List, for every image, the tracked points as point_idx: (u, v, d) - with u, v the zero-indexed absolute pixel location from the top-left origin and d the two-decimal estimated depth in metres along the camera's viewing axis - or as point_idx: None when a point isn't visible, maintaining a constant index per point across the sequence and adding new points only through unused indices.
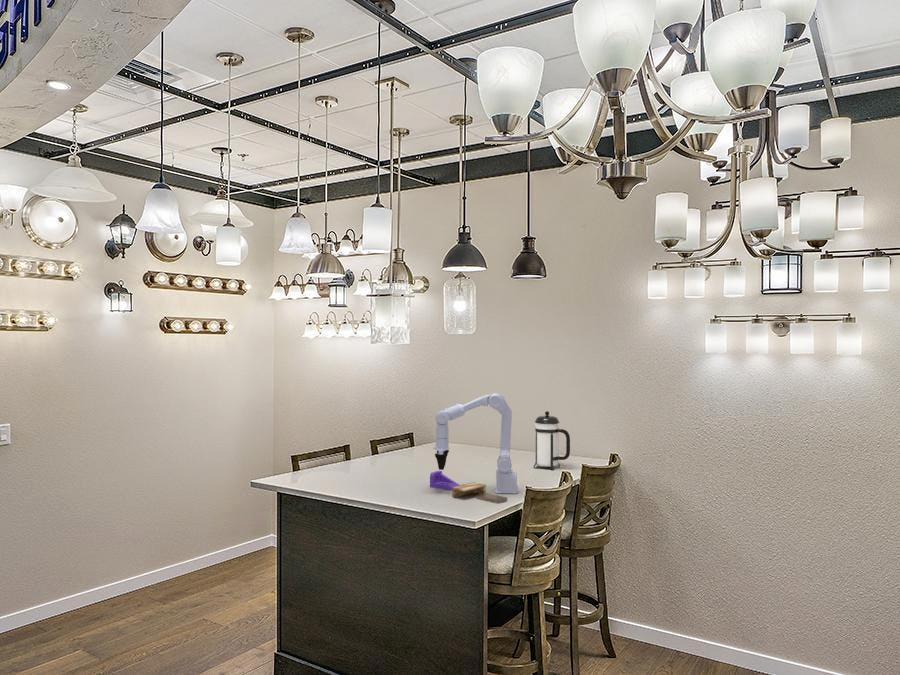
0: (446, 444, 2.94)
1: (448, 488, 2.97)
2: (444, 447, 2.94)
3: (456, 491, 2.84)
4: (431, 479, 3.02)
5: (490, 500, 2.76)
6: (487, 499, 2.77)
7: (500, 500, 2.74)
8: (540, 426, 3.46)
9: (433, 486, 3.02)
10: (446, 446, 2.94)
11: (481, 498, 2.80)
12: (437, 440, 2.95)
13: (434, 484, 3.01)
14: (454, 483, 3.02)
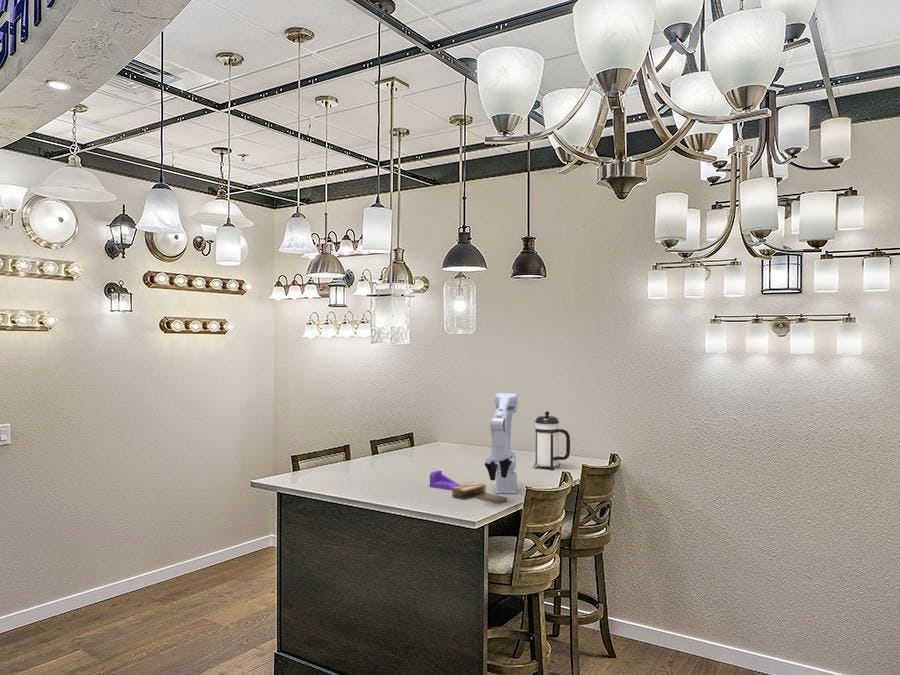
0: (499, 453, 2.74)
1: (448, 488, 2.98)
2: (497, 456, 2.74)
3: (456, 491, 2.84)
4: (431, 479, 3.03)
5: (490, 500, 2.76)
6: (487, 499, 2.77)
7: (500, 500, 2.74)
8: (540, 426, 3.46)
9: (433, 486, 3.02)
10: (499, 456, 2.74)
11: (481, 498, 2.80)
12: None
13: (434, 484, 3.02)
14: (454, 483, 3.02)
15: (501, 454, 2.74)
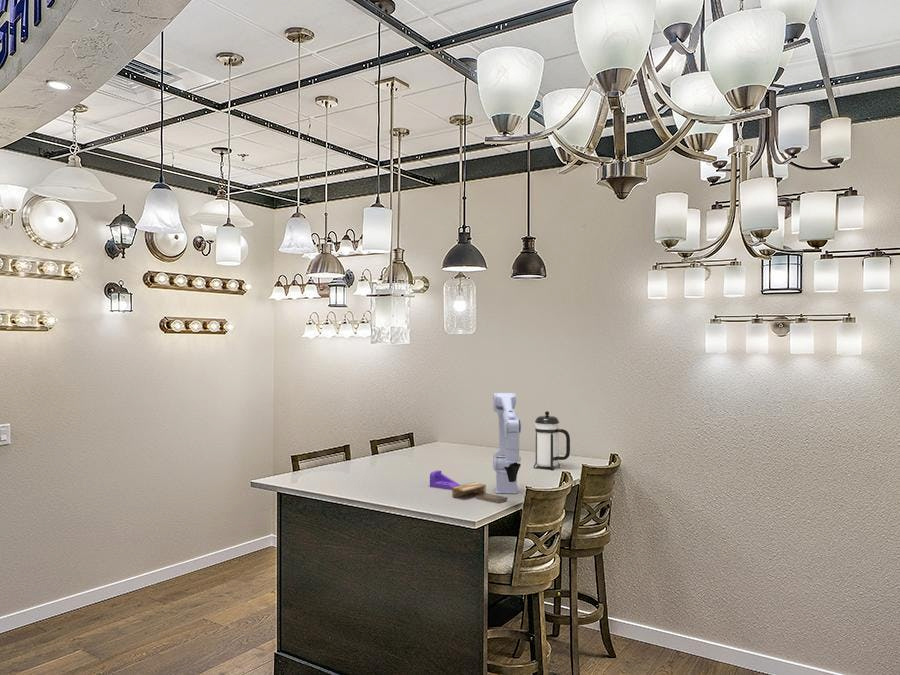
0: (515, 456, 2.69)
1: (448, 487, 2.98)
2: (513, 459, 2.69)
3: (456, 491, 2.84)
4: (431, 479, 3.03)
5: (490, 500, 2.76)
6: (487, 499, 2.77)
7: (500, 500, 2.75)
8: (540, 426, 3.46)
9: (433, 485, 3.02)
10: (515, 458, 2.69)
11: (481, 498, 2.80)
12: (506, 451, 2.71)
13: (434, 484, 3.02)
14: (454, 482, 3.03)
15: (517, 456, 2.70)
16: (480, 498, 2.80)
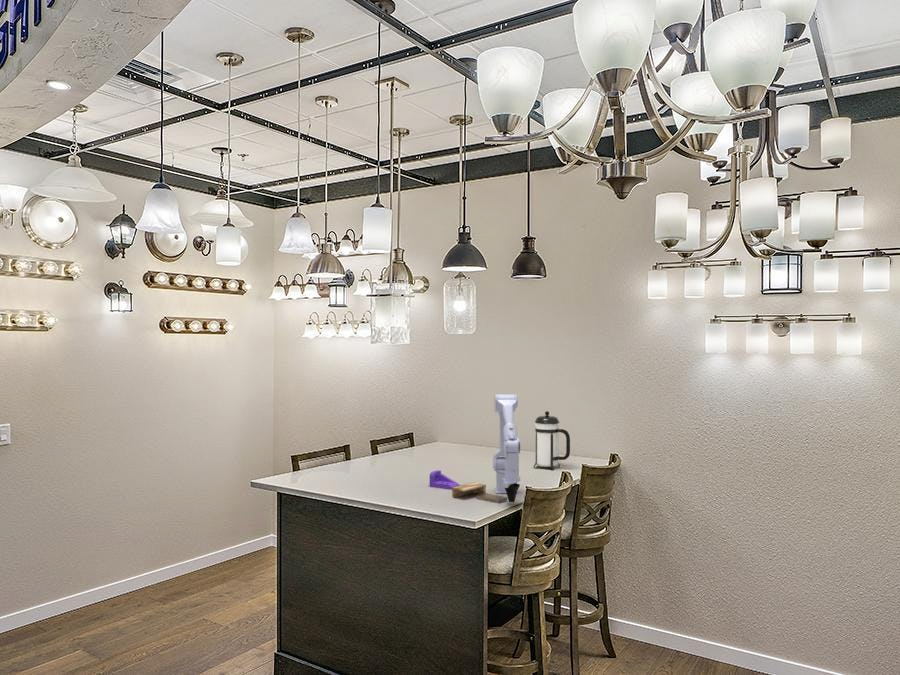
0: (515, 476, 2.70)
1: (448, 487, 2.99)
2: (512, 480, 2.69)
3: (456, 491, 2.84)
4: (431, 479, 3.03)
5: (490, 500, 2.76)
6: (487, 499, 2.77)
7: (501, 500, 2.75)
8: (540, 426, 3.46)
9: (433, 485, 3.03)
10: (515, 479, 2.70)
11: (481, 498, 2.79)
12: (505, 471, 2.71)
13: (434, 484, 3.02)
14: (454, 482, 3.03)
15: (516, 477, 2.70)
16: (480, 498, 2.80)
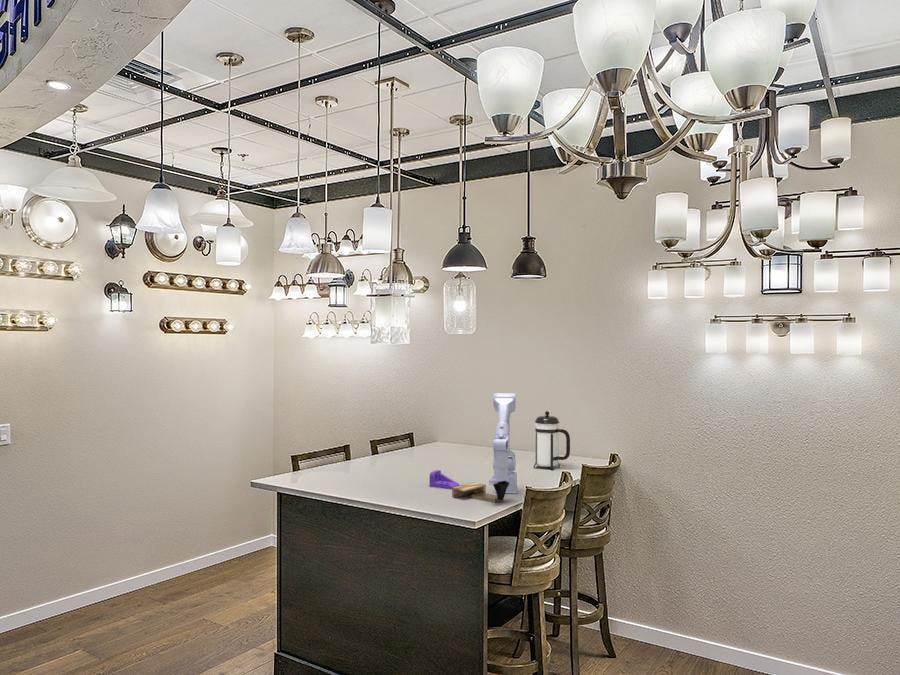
0: (502, 474, 2.73)
1: (449, 487, 2.99)
2: (499, 477, 2.73)
3: (456, 491, 2.84)
4: (431, 478, 3.04)
5: (486, 499, 2.77)
6: (483, 498, 2.78)
7: (496, 499, 2.76)
8: (540, 426, 3.46)
9: (433, 485, 3.03)
10: (502, 477, 2.73)
11: (476, 498, 2.80)
12: (494, 469, 2.76)
13: (434, 483, 3.03)
14: (454, 482, 3.04)
15: (504, 475, 2.74)
16: (475, 498, 2.81)
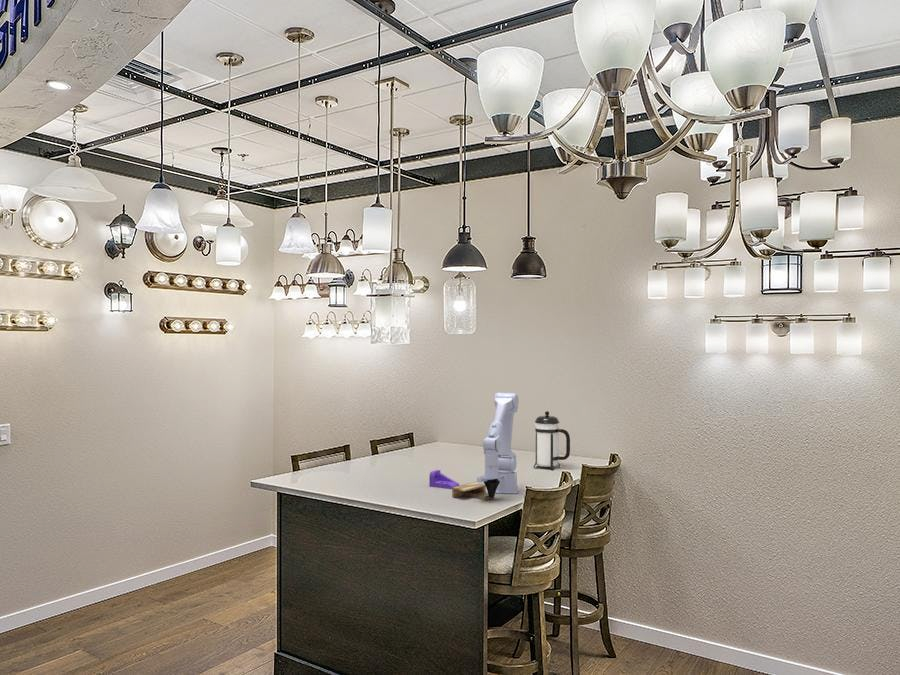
0: (491, 473, 2.77)
1: (449, 487, 2.99)
2: (488, 475, 2.77)
3: (456, 491, 2.84)
4: (431, 478, 3.04)
5: (477, 497, 2.81)
6: (474, 496, 2.83)
7: (486, 497, 2.79)
8: (540, 426, 3.46)
9: (433, 485, 3.03)
10: (491, 475, 2.77)
11: (468, 495, 2.85)
12: (485, 467, 2.80)
13: (434, 483, 3.03)
14: (454, 482, 3.04)
15: (493, 473, 2.77)
16: (467, 495, 2.85)
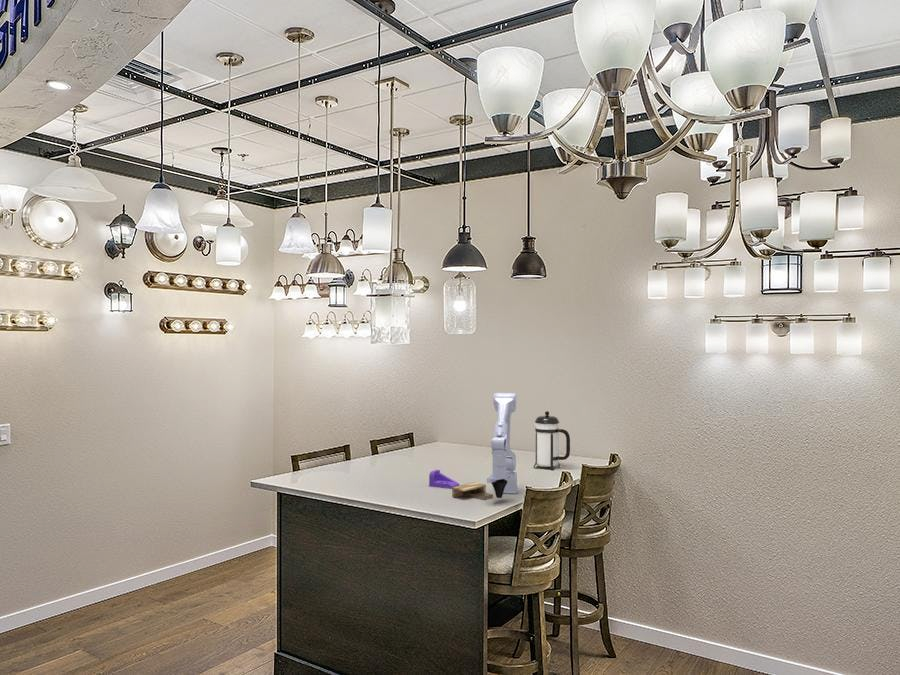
0: (500, 473, 2.74)
1: (449, 487, 3.00)
2: (497, 476, 2.74)
3: (456, 491, 2.84)
4: (430, 478, 3.04)
5: (476, 497, 2.82)
6: (473, 496, 2.83)
7: (486, 497, 2.80)
8: (540, 426, 3.46)
9: (433, 485, 3.04)
10: (500, 475, 2.74)
11: (467, 495, 2.85)
12: None
13: (434, 483, 3.03)
14: (453, 482, 3.05)
15: (502, 473, 2.74)
16: (467, 495, 2.86)
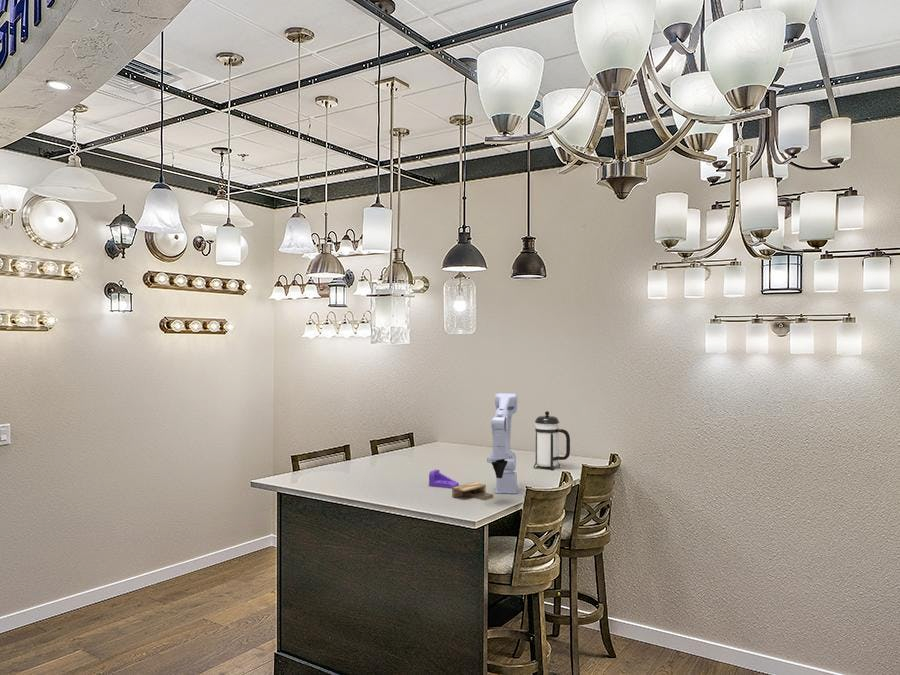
0: (500, 453, 2.74)
1: (449, 486, 3.01)
2: (498, 456, 2.74)
3: (456, 491, 2.84)
4: (430, 478, 3.04)
5: (476, 497, 2.82)
6: (473, 496, 2.83)
7: (486, 497, 2.80)
8: (540, 426, 3.46)
9: (433, 485, 3.04)
10: (500, 455, 2.74)
11: (467, 495, 2.85)
12: None
13: (434, 483, 3.04)
14: (453, 481, 3.05)
15: (502, 453, 2.74)
16: (467, 495, 2.86)
